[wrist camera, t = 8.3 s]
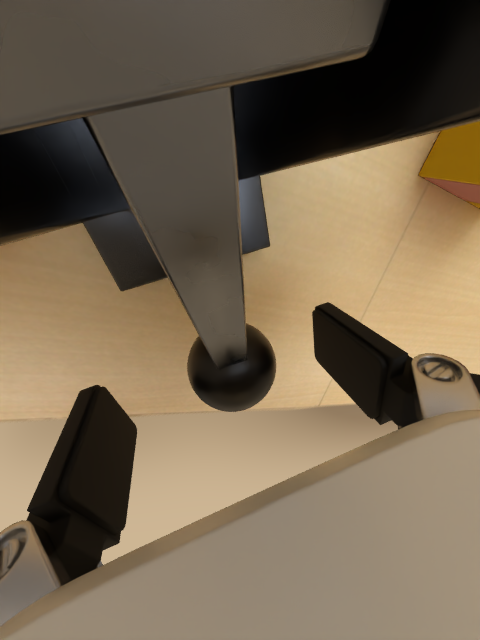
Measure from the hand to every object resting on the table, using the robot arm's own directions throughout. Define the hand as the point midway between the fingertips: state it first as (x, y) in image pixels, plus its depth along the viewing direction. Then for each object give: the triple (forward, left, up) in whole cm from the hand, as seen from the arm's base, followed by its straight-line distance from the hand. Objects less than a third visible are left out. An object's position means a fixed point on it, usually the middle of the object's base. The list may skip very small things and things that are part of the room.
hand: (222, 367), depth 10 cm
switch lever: (0, +5, +2) cm, 6 cm away
